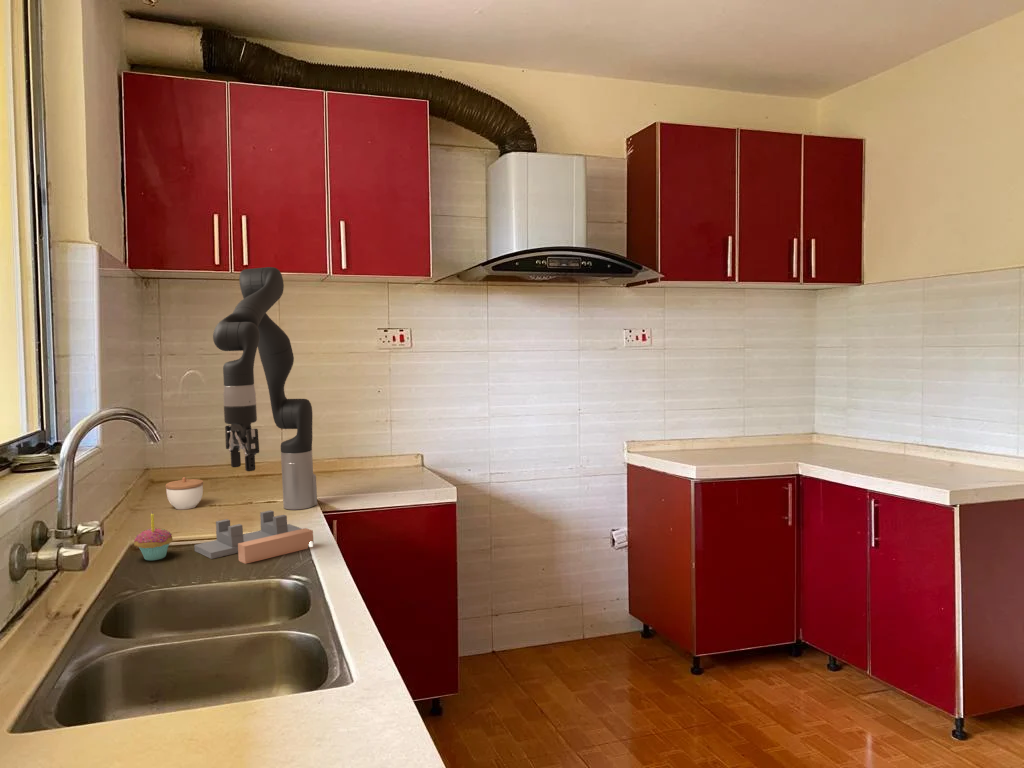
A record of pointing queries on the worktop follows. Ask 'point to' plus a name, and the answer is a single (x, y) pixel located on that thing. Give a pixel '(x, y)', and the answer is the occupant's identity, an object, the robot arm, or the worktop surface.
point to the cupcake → (153, 542)
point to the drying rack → (242, 535)
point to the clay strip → (274, 545)
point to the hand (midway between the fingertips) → (243, 468)
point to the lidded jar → (184, 493)
